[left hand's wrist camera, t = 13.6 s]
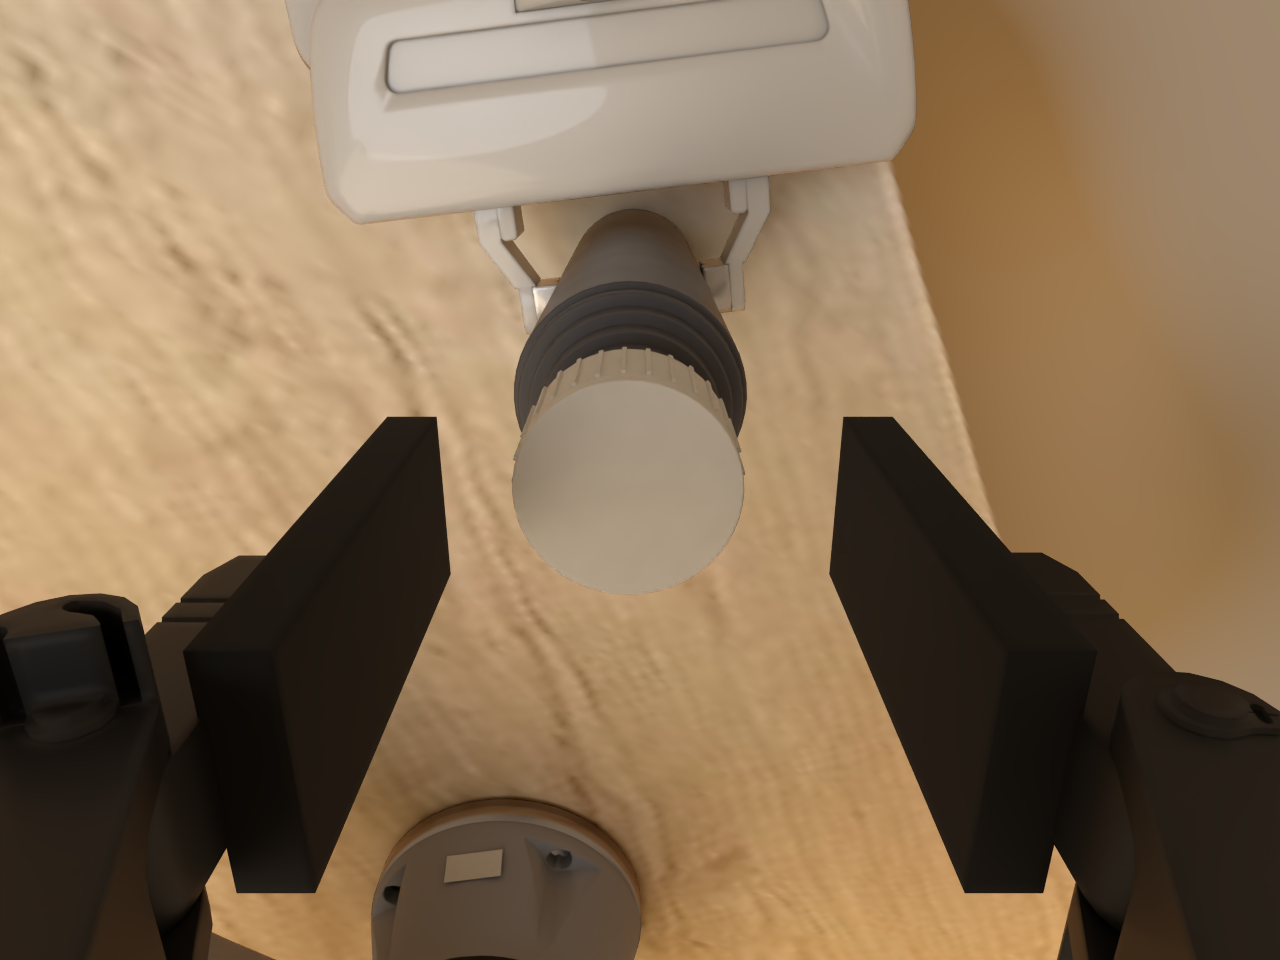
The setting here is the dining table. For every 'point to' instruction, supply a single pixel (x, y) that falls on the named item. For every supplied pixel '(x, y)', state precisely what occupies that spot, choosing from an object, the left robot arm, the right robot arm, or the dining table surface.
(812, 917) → the dining table surface
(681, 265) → the bottle
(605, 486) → the cap
